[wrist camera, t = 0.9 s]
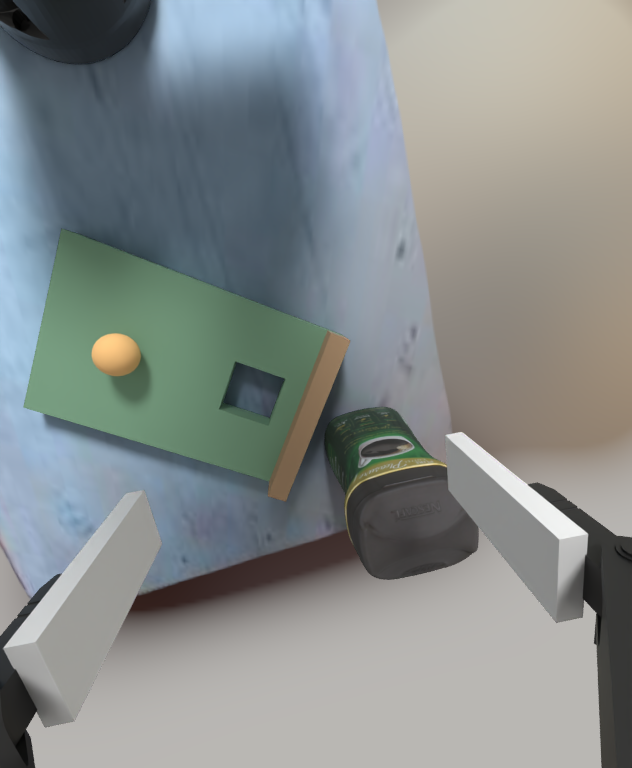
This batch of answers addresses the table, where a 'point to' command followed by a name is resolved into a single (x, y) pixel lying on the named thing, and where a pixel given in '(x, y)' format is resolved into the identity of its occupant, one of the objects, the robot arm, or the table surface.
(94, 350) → the ball
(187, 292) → the putting board
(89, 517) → the table surface
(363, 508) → the coffee jar
